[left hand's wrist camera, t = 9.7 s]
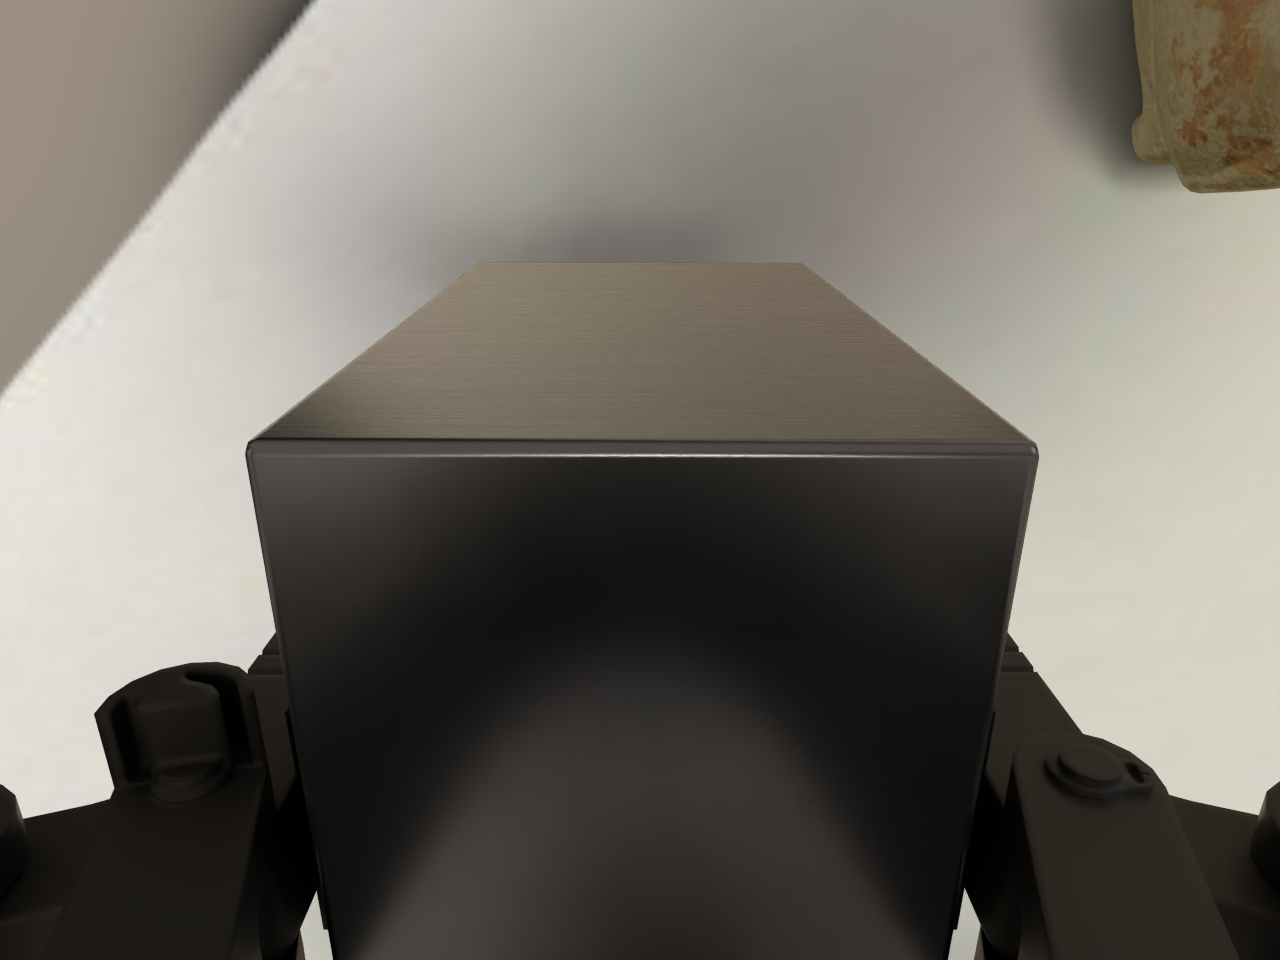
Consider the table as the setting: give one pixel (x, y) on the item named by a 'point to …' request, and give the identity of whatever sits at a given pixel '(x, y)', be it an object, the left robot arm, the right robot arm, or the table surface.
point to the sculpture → (1210, 91)
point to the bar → (641, 620)
